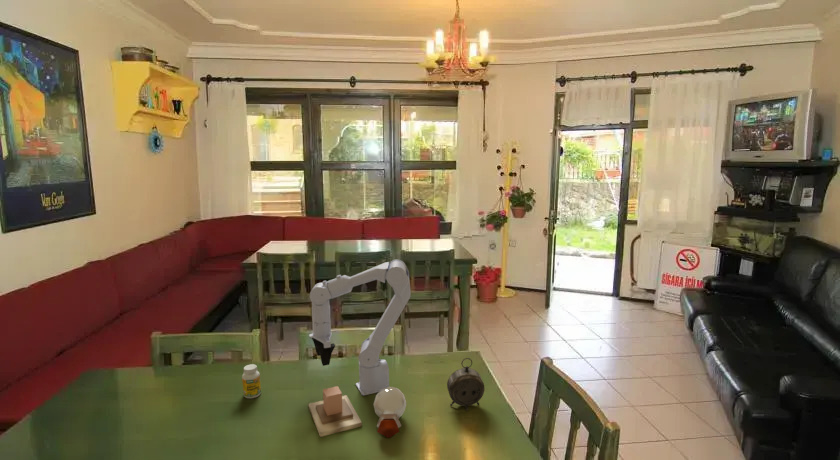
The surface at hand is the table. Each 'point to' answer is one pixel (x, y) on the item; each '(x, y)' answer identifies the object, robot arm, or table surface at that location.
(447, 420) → the table surface
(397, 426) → the potion bottle
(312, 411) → the base board
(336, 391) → the block
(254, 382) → the supplement bottle
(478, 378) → the alarm clock
